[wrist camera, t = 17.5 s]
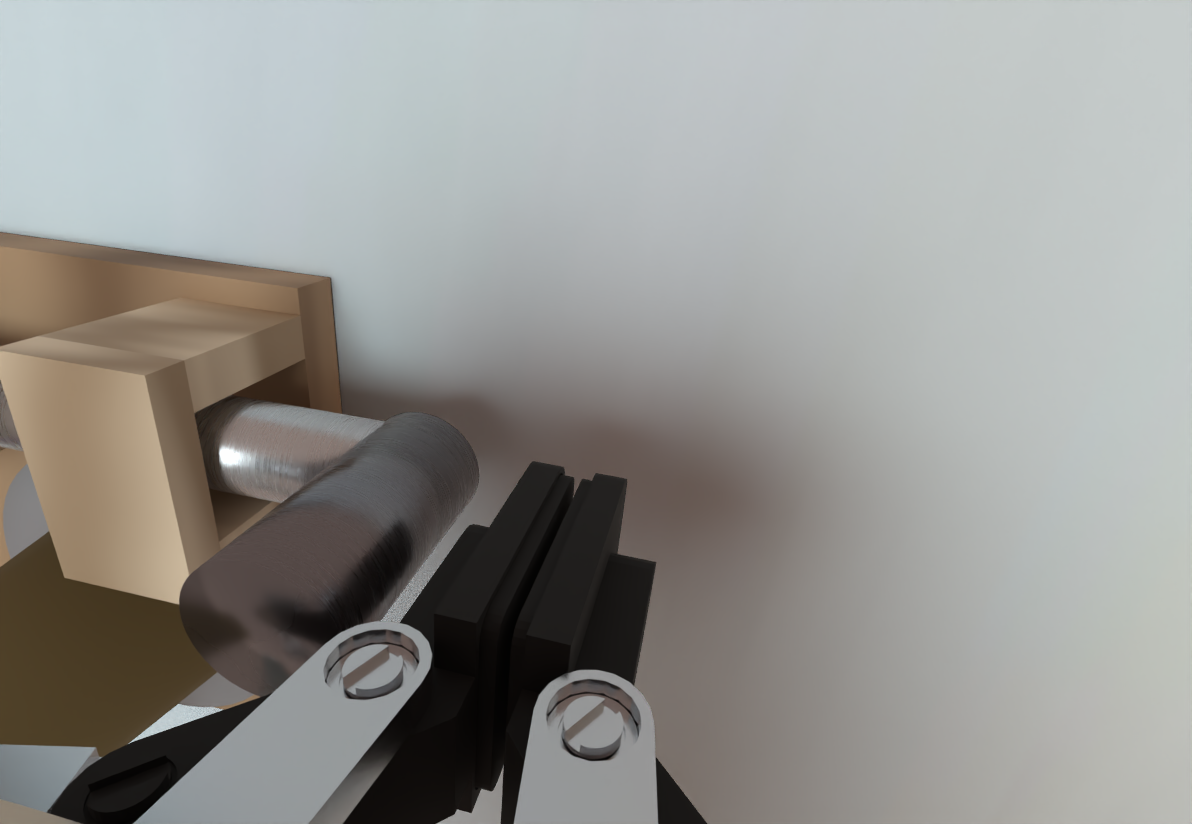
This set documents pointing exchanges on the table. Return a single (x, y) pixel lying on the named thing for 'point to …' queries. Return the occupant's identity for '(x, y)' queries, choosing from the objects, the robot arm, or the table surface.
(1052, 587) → the table surface
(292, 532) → the shaft
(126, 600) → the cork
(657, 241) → the table surface
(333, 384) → the stand
